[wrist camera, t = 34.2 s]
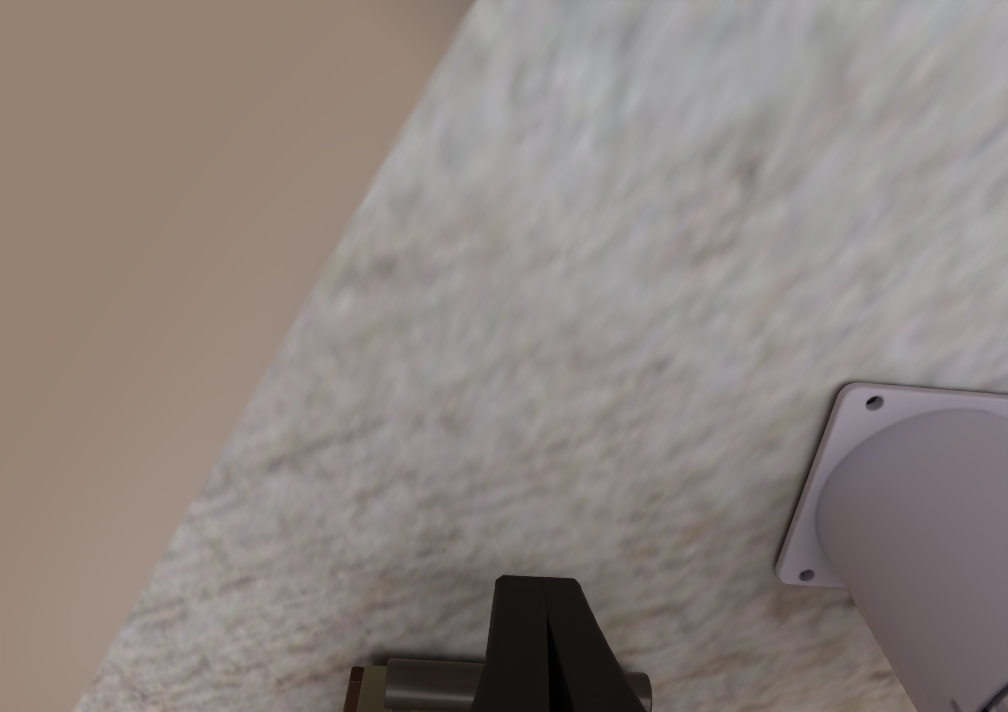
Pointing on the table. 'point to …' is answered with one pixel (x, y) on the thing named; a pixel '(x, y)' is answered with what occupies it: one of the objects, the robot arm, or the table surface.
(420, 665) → the drawer
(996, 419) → the robot arm
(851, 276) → the table surface
